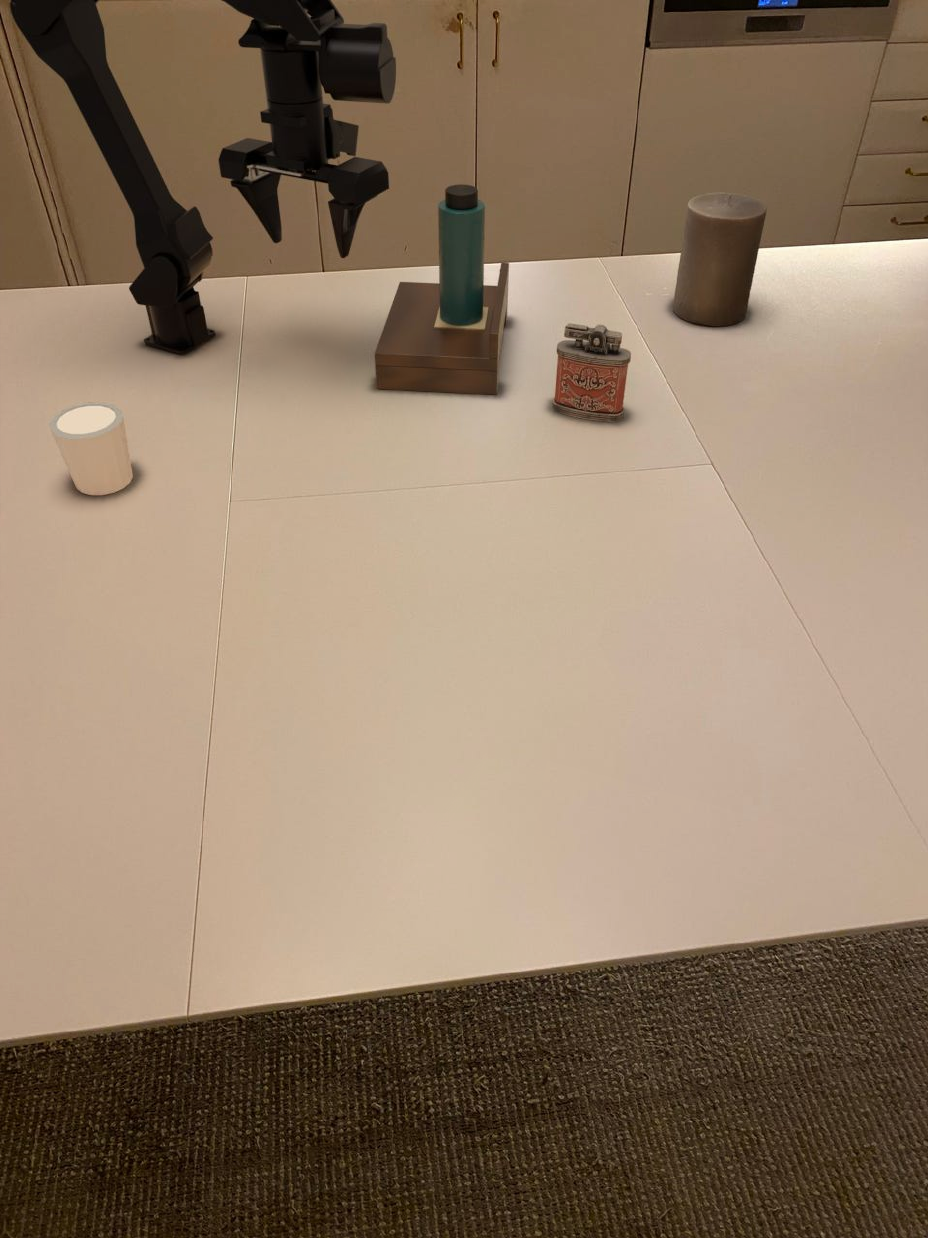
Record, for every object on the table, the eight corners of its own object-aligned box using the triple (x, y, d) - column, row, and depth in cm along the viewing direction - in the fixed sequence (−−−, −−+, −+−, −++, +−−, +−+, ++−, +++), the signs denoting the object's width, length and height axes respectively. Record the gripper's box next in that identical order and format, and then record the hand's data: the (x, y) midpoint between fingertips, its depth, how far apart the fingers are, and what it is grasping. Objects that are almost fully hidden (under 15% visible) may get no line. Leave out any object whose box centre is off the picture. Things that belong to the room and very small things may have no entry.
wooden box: (376, 388, 111) (372, 327, 106) (401, 314, 125) (398, 258, 120) (496, 394, 110) (498, 333, 105) (507, 319, 125) (509, 262, 119)
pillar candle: (758, 322, 124) (784, 203, 114) (688, 330, 122) (709, 210, 112) (726, 292, 131) (748, 177, 121) (660, 299, 129) (676, 183, 119)
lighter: (626, 410, 107) (637, 325, 101) (619, 424, 105) (630, 339, 98) (556, 398, 109) (563, 315, 102) (549, 412, 107) (555, 328, 100)
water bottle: (452, 329, 112) (452, 200, 102) (432, 312, 115) (429, 186, 105) (491, 320, 114) (493, 192, 104) (469, 303, 117) (470, 178, 107)
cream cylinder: (120, 502, 94) (101, 441, 89) (56, 494, 95) (34, 433, 90) (150, 465, 99) (135, 404, 94) (89, 457, 100) (71, 397, 95)
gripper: (412, 90, 100) (417, 240, 110) (268, 69, 106) (285, 213, 117) (354, 116, 92) (365, 274, 103) (203, 92, 99) (228, 243, 109)
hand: (310, 249), depth 108 cm, fingers open, 9 cm apart
